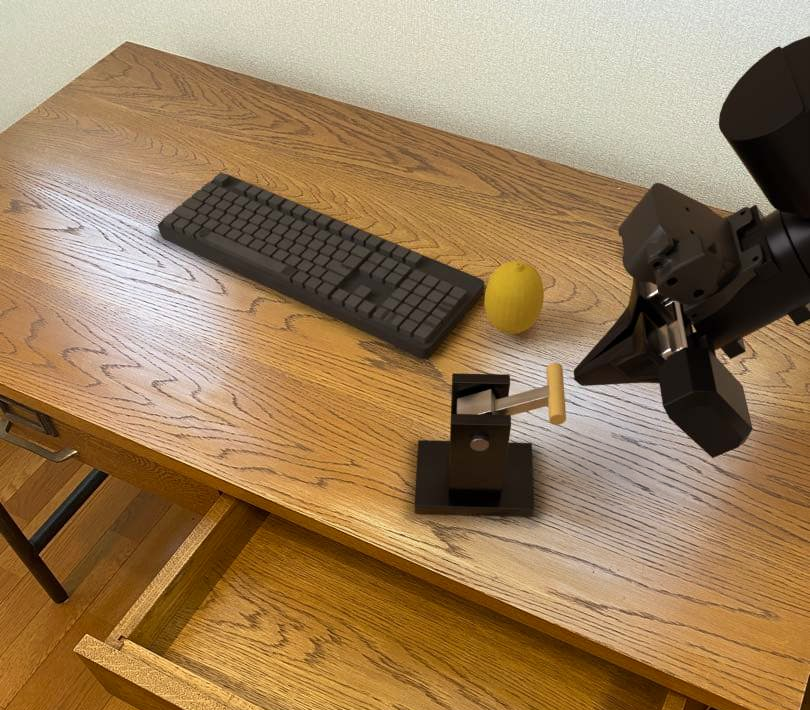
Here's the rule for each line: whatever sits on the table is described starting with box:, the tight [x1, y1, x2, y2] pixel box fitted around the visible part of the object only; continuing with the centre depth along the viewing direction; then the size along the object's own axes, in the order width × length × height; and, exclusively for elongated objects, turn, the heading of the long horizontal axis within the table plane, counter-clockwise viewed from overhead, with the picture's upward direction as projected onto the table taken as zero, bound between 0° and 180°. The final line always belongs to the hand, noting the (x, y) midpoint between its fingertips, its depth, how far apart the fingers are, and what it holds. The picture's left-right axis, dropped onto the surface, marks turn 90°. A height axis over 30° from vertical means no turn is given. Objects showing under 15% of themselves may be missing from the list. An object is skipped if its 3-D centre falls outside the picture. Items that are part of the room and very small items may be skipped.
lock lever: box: [457, 362, 567, 426], centre depth 56 cm, size 8×5×2 cm, turn 87°
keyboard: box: [157, 171, 485, 360], centre depth 79 cm, size 35×11×2 cm, turn 57°
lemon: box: [484, 260, 545, 335], centre depth 70 cm, size 6×6×8 cm
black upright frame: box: [414, 373, 535, 518], centre depth 60 cm, size 10×7×11 cm
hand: (577, 378), depth 53 cm, fingers closed
